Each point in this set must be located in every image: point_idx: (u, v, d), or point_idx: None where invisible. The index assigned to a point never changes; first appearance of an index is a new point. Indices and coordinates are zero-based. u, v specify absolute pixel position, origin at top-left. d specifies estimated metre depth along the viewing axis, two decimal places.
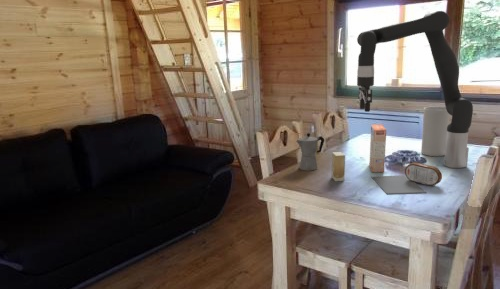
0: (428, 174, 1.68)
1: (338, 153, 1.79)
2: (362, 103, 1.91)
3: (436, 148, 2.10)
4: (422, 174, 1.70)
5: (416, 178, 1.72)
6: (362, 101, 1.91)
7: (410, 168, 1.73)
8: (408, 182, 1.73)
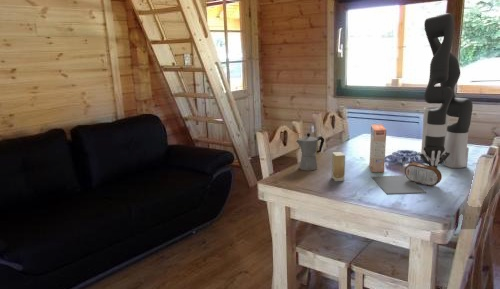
0: (428, 174, 1.67)
1: (338, 153, 1.79)
2: None
3: None
4: (422, 174, 1.69)
5: (416, 178, 1.72)
6: None
7: (410, 169, 1.72)
8: (408, 182, 1.73)
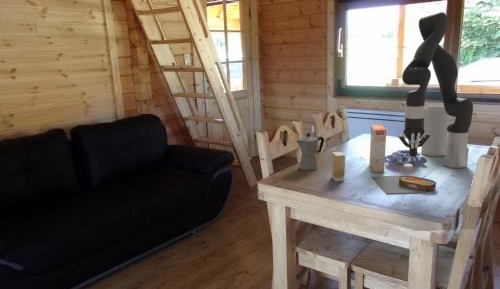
0: None
1: (338, 153, 1.79)
2: None
3: (436, 148, 2.10)
4: None
5: None
6: None
7: None
8: None
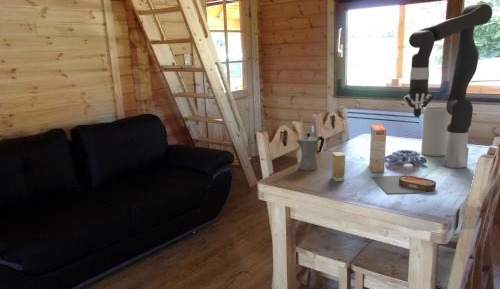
0: None
1: (338, 153, 1.79)
2: None
3: (436, 148, 2.10)
4: None
5: None
6: None
7: None
8: None
